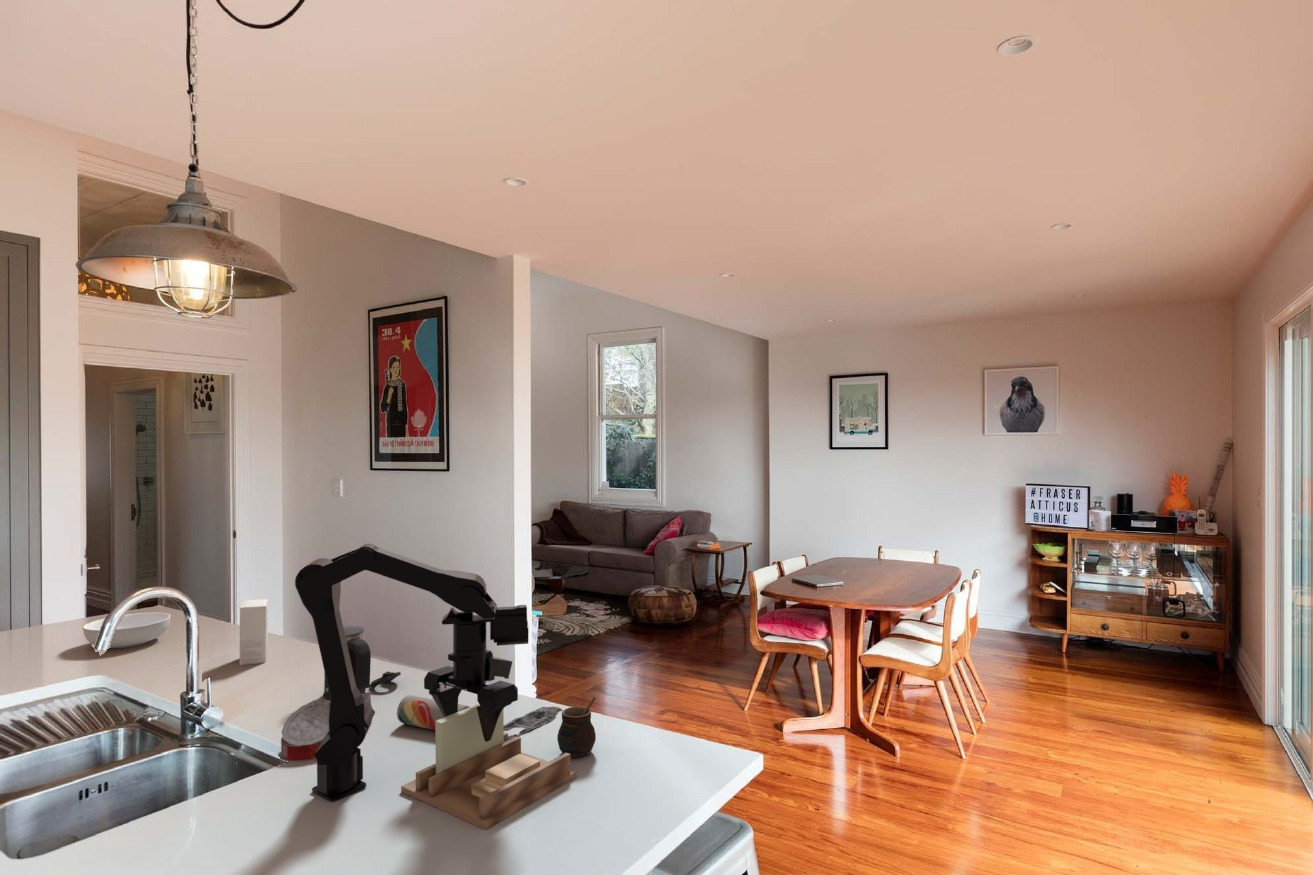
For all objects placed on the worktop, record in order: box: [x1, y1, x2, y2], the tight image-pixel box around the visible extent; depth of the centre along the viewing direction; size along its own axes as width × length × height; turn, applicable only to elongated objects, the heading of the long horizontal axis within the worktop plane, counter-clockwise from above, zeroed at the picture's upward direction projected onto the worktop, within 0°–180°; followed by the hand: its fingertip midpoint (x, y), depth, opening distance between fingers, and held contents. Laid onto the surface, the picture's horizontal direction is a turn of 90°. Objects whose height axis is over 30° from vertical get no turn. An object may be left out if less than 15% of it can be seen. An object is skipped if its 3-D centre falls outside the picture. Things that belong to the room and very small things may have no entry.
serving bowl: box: [82, 611, 172, 649], centre depth 215 cm, size 21×21×7 cm
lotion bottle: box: [396, 694, 471, 731], centre depth 151 cm, size 6×6×20 cm
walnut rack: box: [400, 731, 577, 831], centre depth 127 cm, size 21×21×4 cm
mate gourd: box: [556, 696, 597, 759], centre depth 140 cm, size 7×8×10 cm
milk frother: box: [322, 625, 402, 700], centre depth 175 cm, size 14×16×15 cm
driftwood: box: [504, 706, 564, 740], centre depth 153 cm, size 21×7×2 cm, turn 145°
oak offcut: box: [485, 754, 540, 786], centre depth 126 cm, size 8×5×2 cm, turn 145°
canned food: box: [280, 698, 330, 762], centre depth 142 cm, size 11×10×10 cm
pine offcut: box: [472, 778, 502, 798], centre depth 125 cm, size 11×6×2 cm, turn 145°
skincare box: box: [239, 598, 269, 667], centre depth 198 cm, size 8×7×16 cm
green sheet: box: [434, 703, 505, 774], centre depth 130 cm, size 14×2×11 cm, turn 145°
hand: (470, 734), depth 130 cm, fingers open, 9 cm apart
